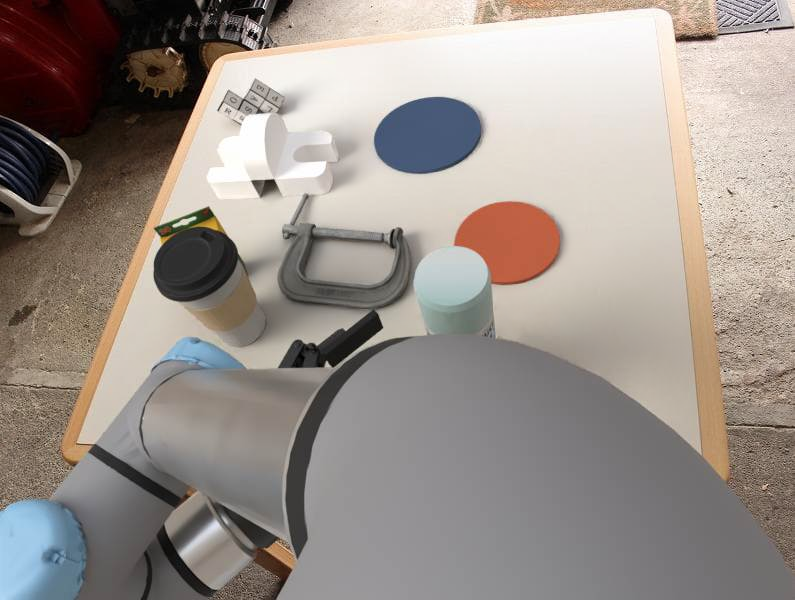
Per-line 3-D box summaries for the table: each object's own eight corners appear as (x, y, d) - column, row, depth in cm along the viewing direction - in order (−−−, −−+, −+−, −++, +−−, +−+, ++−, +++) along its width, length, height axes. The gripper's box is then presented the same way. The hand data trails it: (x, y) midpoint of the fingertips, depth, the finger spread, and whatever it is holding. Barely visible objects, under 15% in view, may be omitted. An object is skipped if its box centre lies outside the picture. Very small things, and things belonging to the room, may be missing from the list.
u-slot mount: (340, 147, 93) (322, 94, 85) (330, 194, 88) (309, 142, 80) (231, 154, 96) (204, 104, 88) (215, 199, 91) (184, 150, 83)
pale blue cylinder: (499, 410, 65) (488, 307, 48) (438, 407, 66) (408, 307, 50) (501, 356, 68) (491, 243, 52) (443, 354, 70) (416, 244, 53)
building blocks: (271, 116, 103) (228, 89, 100) (284, 97, 99) (239, 68, 96) (261, 137, 101) (216, 110, 97) (275, 119, 97) (228, 90, 93)
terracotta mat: (581, 251, 74) (582, 248, 74) (490, 302, 72) (490, 299, 72) (520, 189, 82) (520, 186, 81) (436, 234, 80) (435, 231, 79)
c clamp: (251, 293, 80) (243, 280, 78) (305, 196, 88) (299, 183, 86) (393, 324, 73) (388, 312, 71) (437, 217, 81) (435, 203, 79)
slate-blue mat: (502, 140, 87) (502, 136, 87) (405, 190, 85) (405, 187, 85) (446, 86, 96) (445, 82, 96) (357, 130, 94) (356, 127, 94)
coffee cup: (287, 298, 78) (242, 221, 66) (266, 363, 73) (213, 293, 61) (221, 295, 81) (166, 220, 68) (196, 358, 76) (132, 289, 63)
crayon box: (197, 299, 81) (153, 243, 71) (193, 283, 83) (150, 227, 73) (249, 277, 81) (212, 219, 72) (244, 261, 83) (208, 203, 74)
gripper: (190, 432, 62) (354, 306, 67) (329, 649, 48) (520, 471, 54) (153, 401, 56) (336, 265, 61) (300, 640, 42) (518, 439, 48)
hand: (423, 361), depth 57 cm, fingers open, 13 cm apart
